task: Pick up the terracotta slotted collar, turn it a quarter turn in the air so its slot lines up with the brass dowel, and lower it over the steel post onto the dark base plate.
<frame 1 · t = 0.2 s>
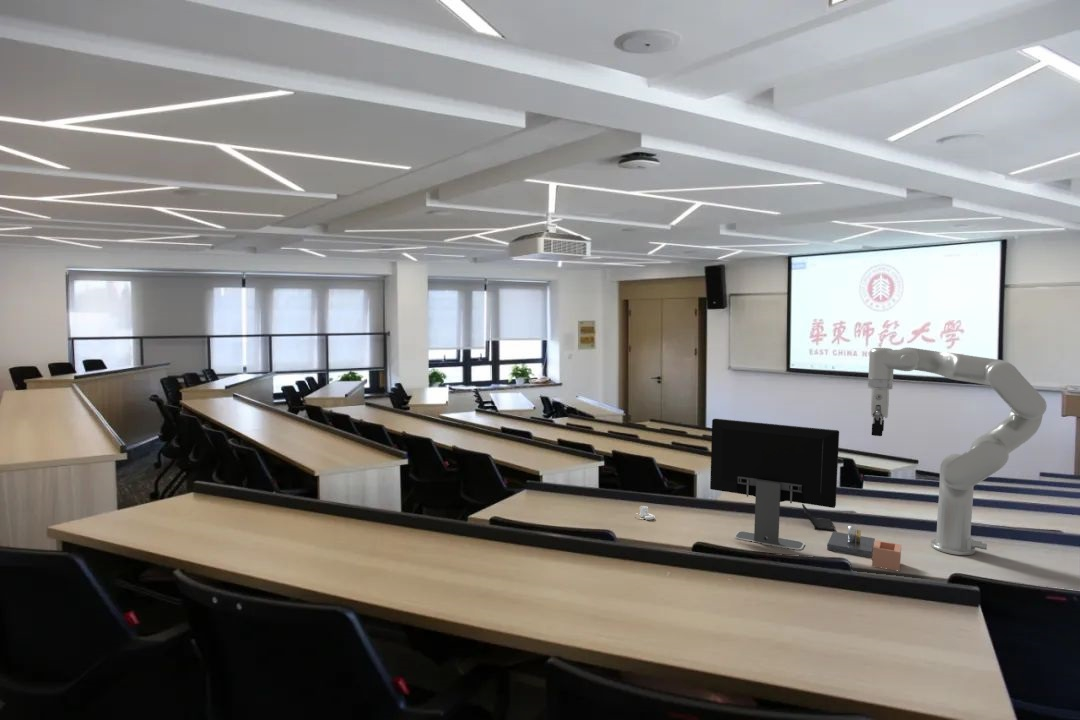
hand: (877, 433, 229), 36 cm above the table, tool pointing down, fingers open, 9 cm apart
base plate: (851, 546, 221), on the table
handheld gaming console: (817, 526, 243), on the table
collar: (886, 564, 206), on the table
computer monitor: (767, 541, 227), on the table
teacup and saucer: (640, 520, 249), on the table
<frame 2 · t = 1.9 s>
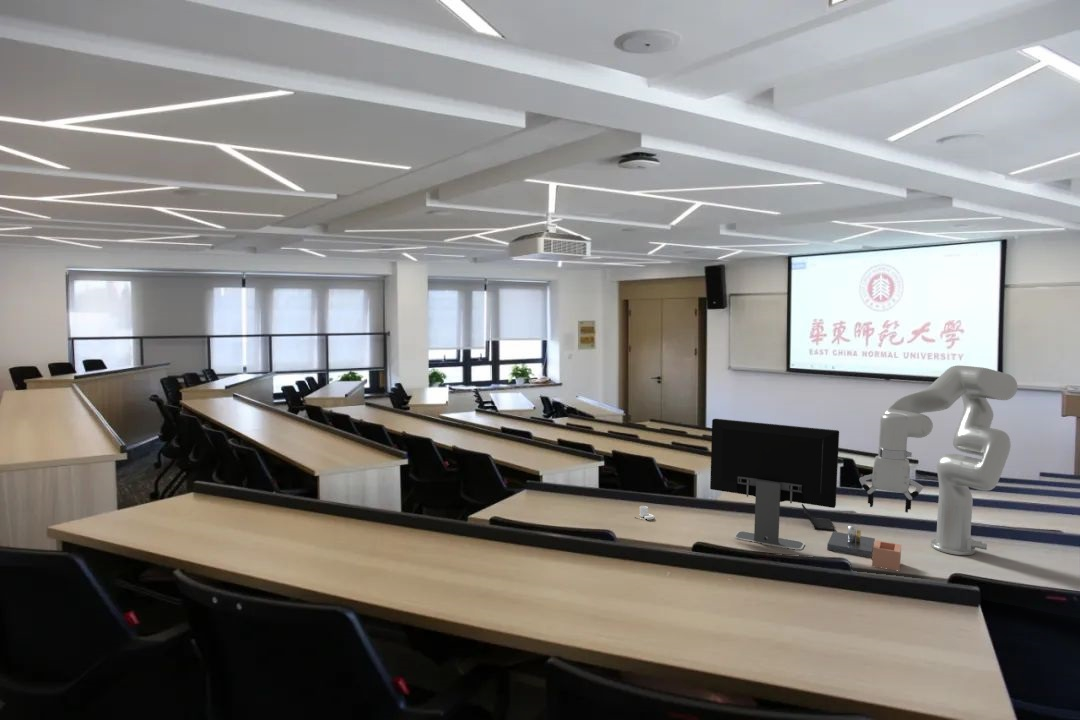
hand: (888, 508, 205), 18 cm above the table, tool pointing down, fingers open, 9 cm apart
nothing on the table moved.
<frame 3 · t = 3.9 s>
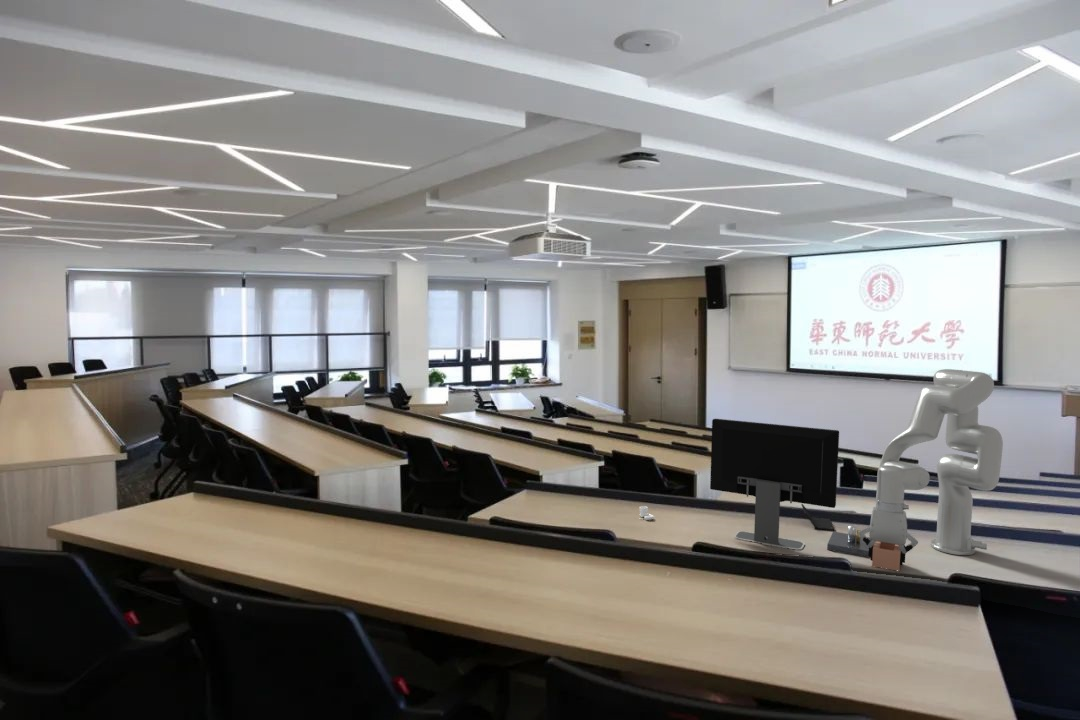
hand: (886, 561, 206), 1 cm above the table, tool pointing down, fingers closed on collar, 7 cm apart
collar: (886, 564, 206), on the table, touching gripper
everything else where it was.
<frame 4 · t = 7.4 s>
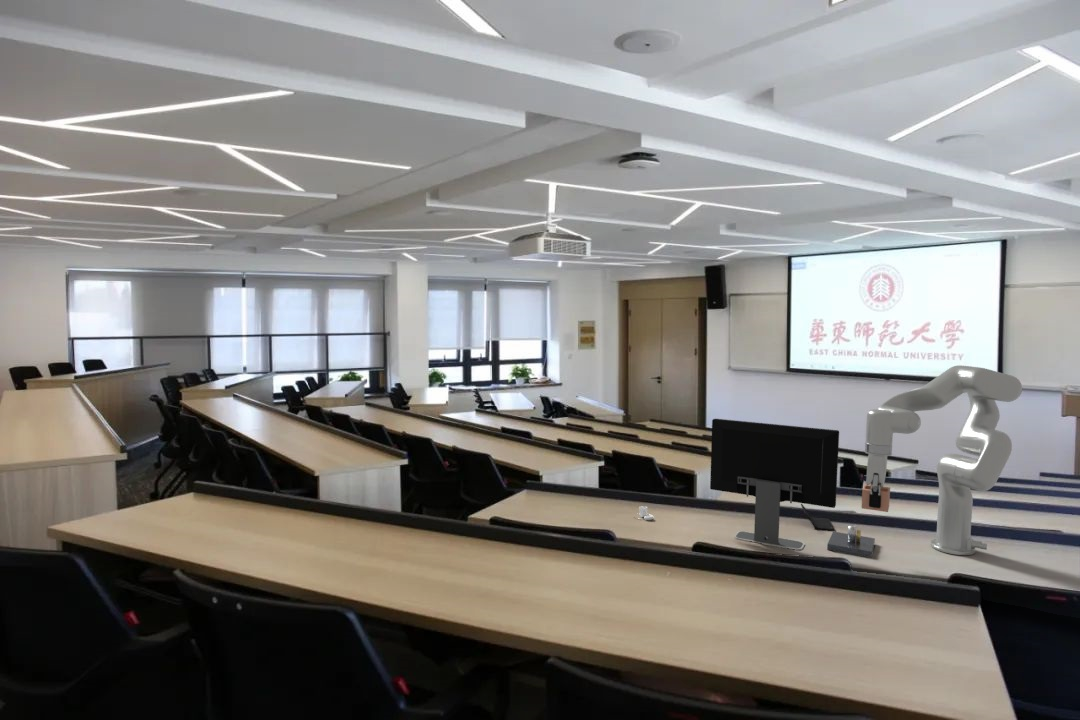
hand: (875, 503, 210), 18 cm above the table, tool pointing down, fingers closed on collar, 7 cm apart
collar: (875, 507, 210), point 17 cm above the table, touching gripper
everything else where it was.
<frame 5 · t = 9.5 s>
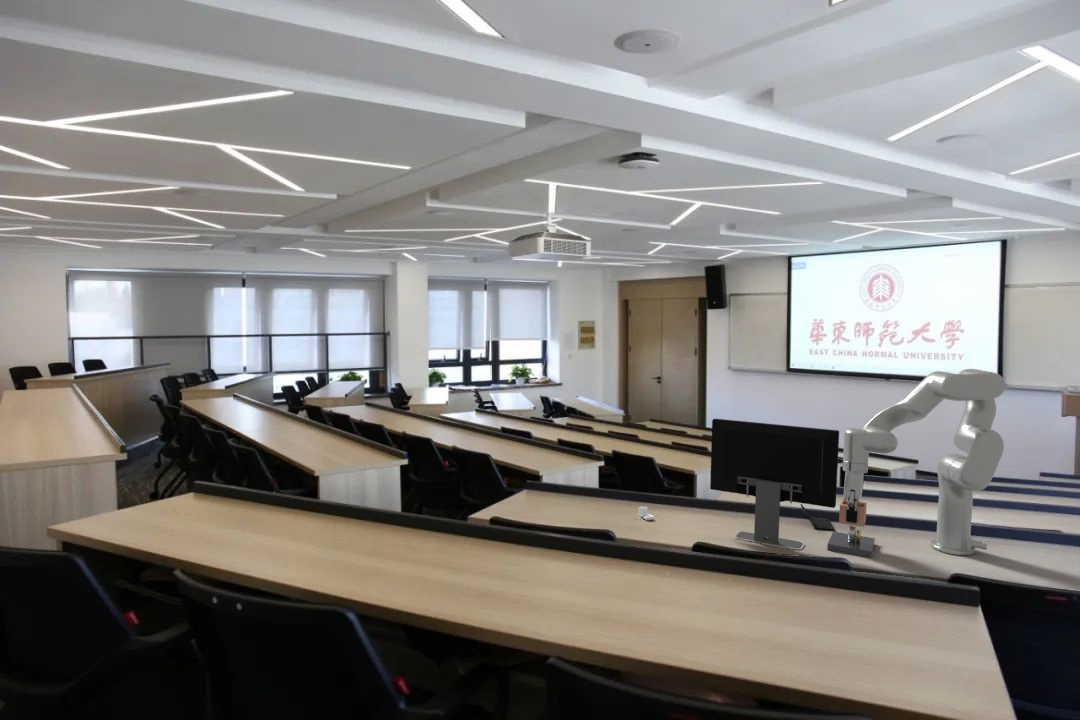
hand: (852, 518, 220), 10 cm above the table, tool pointing down, fingers closed on collar, 7 cm apart
collar: (852, 521, 221), point 9 cm above the table, touching gripper
everything else where it was.
when the fingers open (5 cm above the table, at t = 11.3 s): collar drops 1 cm, resting on base plate.
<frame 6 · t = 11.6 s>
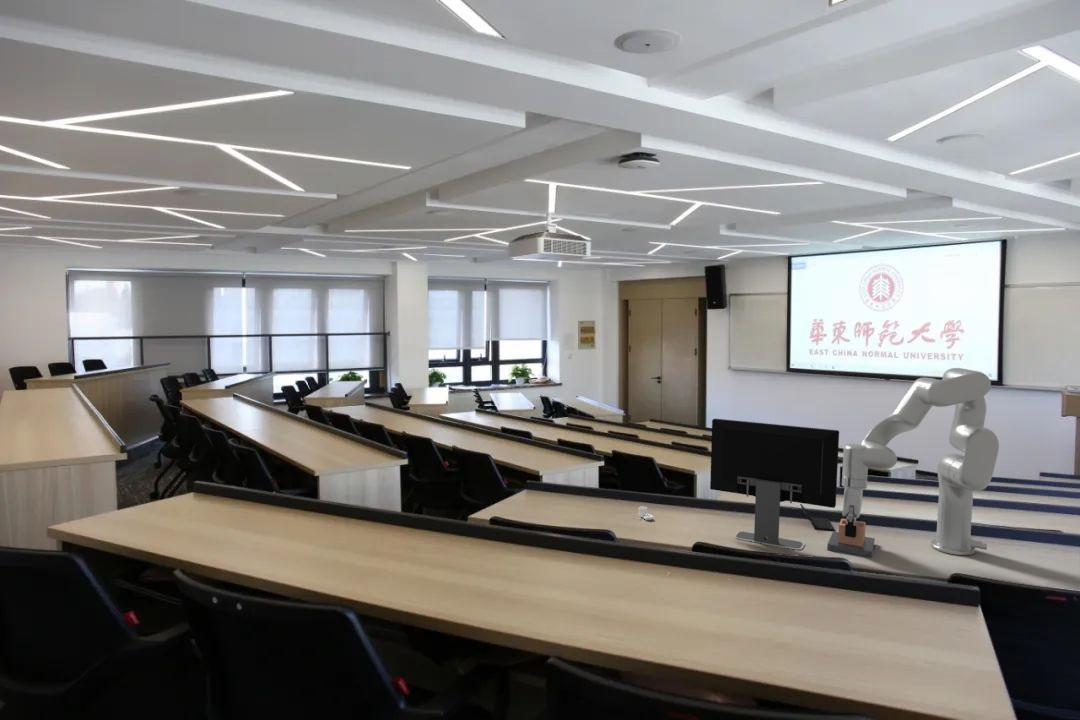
hand: (851, 532, 221), 5 cm above the table, tool pointing down, fingers open, 9 cm apart
collar: (851, 541, 221), point 2 cm above the table, touching base plate
everything else where it was.
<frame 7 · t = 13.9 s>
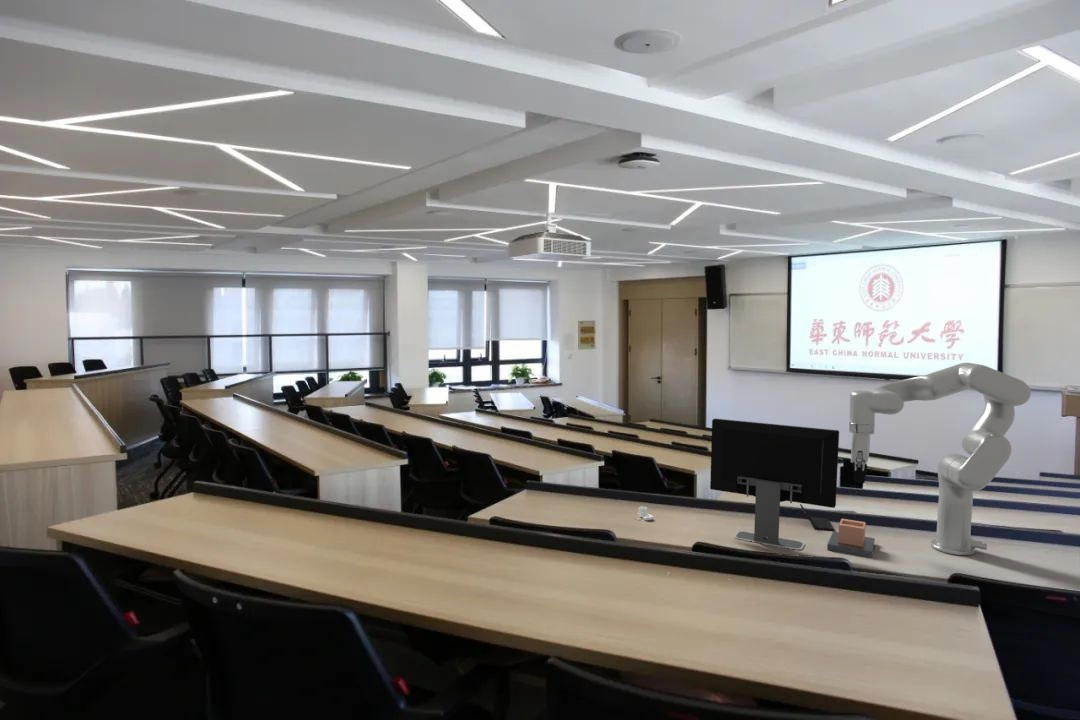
hand: (860, 478, 221), 23 cm above the table, tool pointing down, fingers open, 9 cm apart
nothing on the table moved.
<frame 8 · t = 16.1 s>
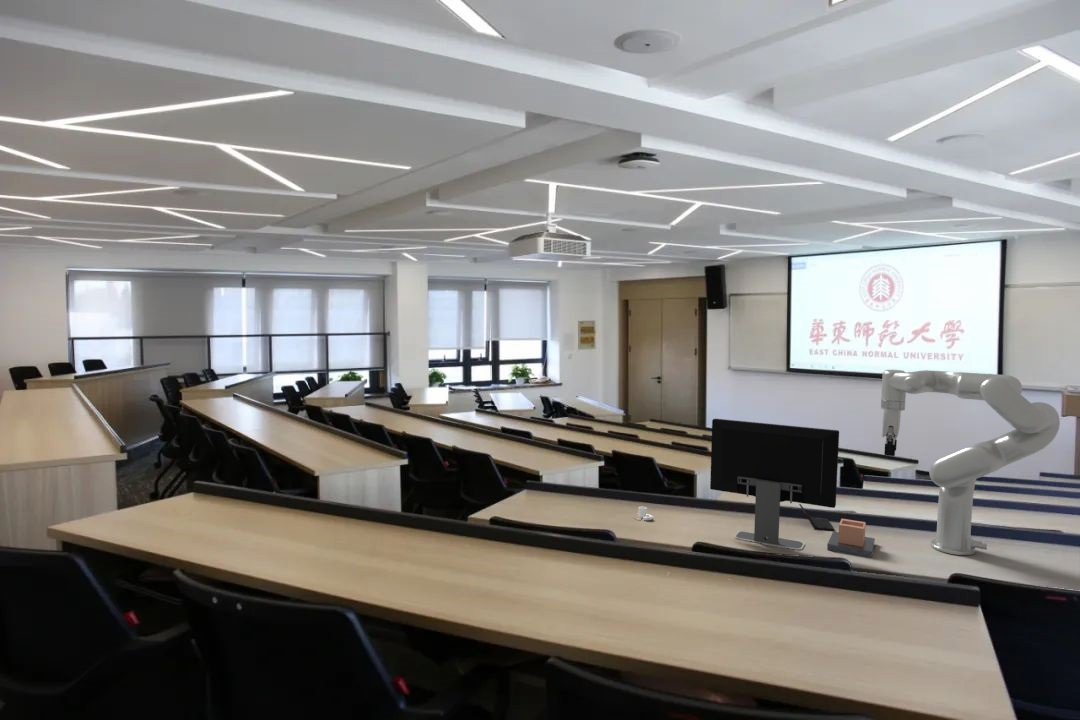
hand: (890, 452, 235), 28 cm above the table, tool pointing down, fingers open, 9 cm apart
nothing on the table moved.
at the end: collar 0.0 cm off-centre on the base plate, point 2.0 cm above the base plate's base; collar tilted 0°; the gripper is holding nothing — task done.
